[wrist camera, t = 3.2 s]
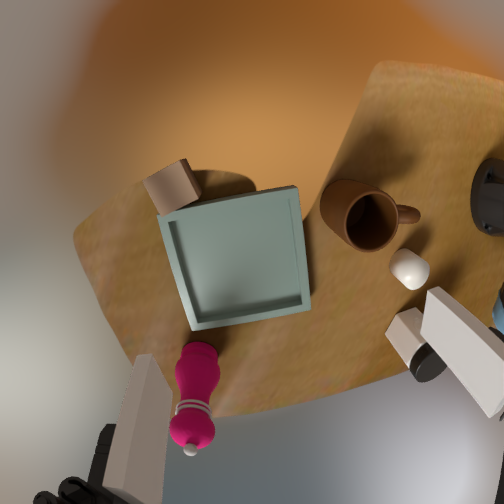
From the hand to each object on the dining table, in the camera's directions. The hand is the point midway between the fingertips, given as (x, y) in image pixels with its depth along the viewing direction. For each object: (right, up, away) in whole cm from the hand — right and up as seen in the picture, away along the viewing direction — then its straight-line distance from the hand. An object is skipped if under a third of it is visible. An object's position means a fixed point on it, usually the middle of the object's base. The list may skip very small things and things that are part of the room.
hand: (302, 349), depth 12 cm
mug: (+13, +11, +27) cm, 32 cm away
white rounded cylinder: (+23, +3, +31) cm, 38 cm away
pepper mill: (-11, -13, +34) cm, 38 cm away
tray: (-4, +3, +28) cm, 29 cm away
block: (-12, +13, +24) cm, 30 cm away
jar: (+27, -10, +36) cm, 46 cm away
